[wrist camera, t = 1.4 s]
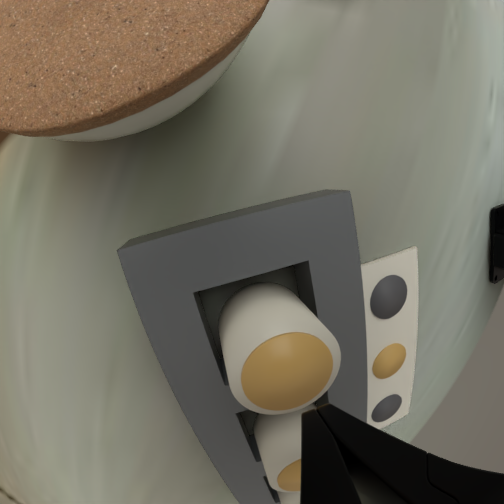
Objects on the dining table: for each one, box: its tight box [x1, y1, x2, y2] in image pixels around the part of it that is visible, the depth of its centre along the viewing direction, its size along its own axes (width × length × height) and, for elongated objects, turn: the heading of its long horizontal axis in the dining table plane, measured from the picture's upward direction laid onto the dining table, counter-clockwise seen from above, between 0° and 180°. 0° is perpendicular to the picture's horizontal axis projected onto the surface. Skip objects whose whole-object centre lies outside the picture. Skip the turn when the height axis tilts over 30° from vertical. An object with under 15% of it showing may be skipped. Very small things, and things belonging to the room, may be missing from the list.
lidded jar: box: [0, 0, 269, 142], centre depth 7 cm, size 11×11×9 cm
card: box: [361, 246, 418, 429], centre depth 18 cm, size 5×15×1 cm, turn 13°
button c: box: [277, 491, 300, 504], centre depth 15 cm, size 4×4×4 cm
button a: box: [218, 282, 341, 415], centre depth 11 cm, size 4×4×4 cm
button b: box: [253, 402, 317, 492], centre depth 13 cm, size 4×4×4 cm
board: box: [117, 190, 368, 504], centre depth 16 cm, size 10×24×2 cm, turn 13°
